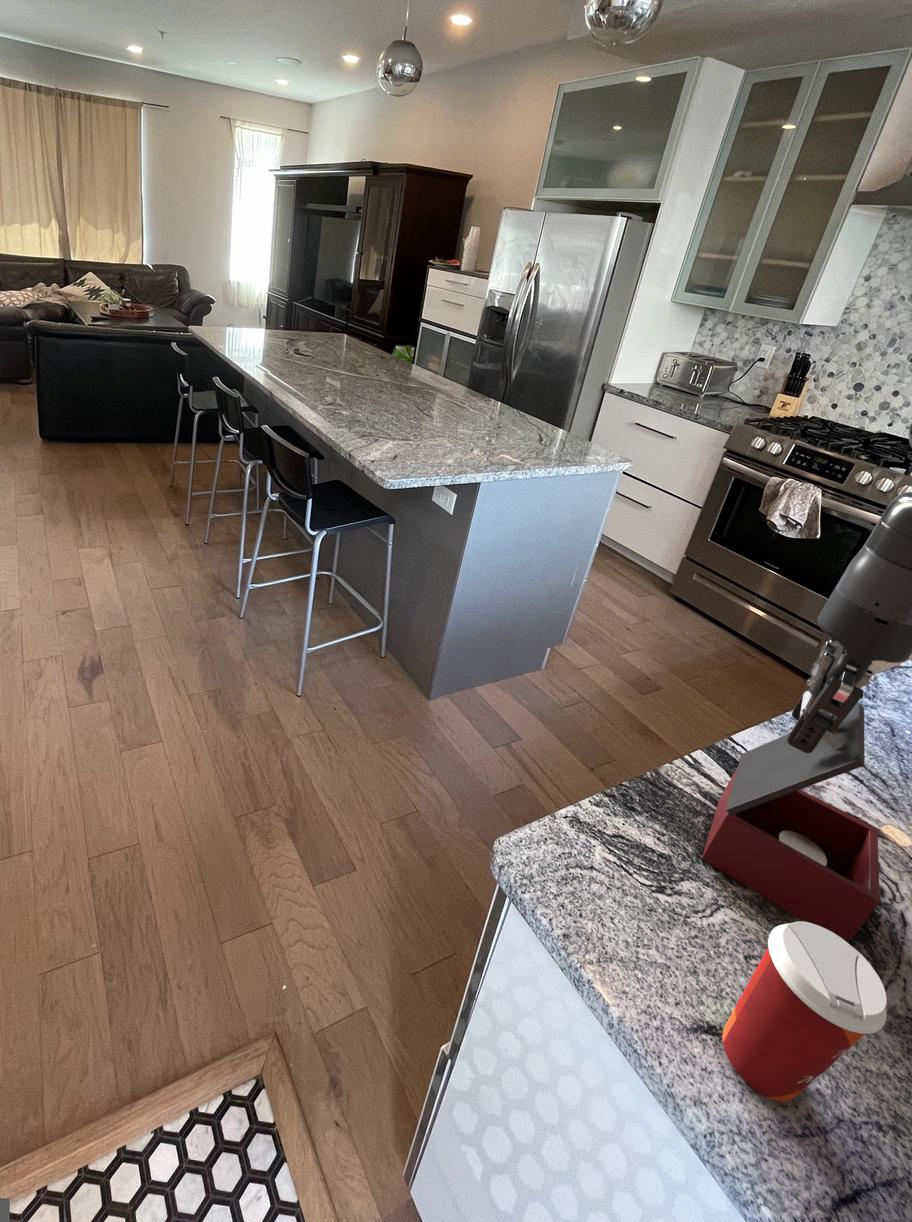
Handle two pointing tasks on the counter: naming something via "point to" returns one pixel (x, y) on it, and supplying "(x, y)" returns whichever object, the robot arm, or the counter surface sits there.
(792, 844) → the cylinder
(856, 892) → the box
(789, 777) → the lid
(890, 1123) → the counter surface
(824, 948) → the paper cup
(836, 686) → the robot arm
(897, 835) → the counter surface
